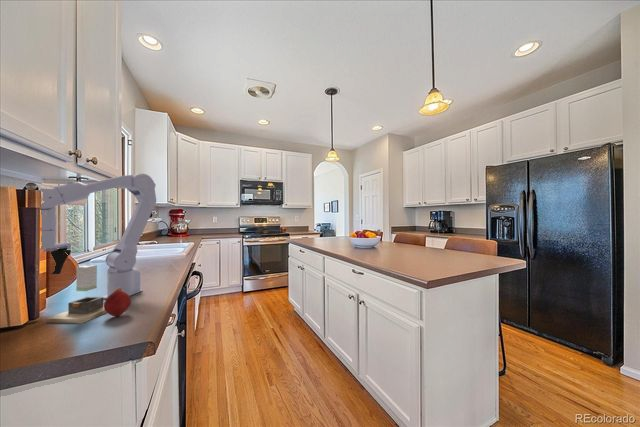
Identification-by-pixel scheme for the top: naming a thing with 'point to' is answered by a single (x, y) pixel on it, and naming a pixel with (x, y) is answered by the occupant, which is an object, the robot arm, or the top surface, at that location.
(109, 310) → the onion
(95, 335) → the top surface
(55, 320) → the stand
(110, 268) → the robot arm
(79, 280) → the post
